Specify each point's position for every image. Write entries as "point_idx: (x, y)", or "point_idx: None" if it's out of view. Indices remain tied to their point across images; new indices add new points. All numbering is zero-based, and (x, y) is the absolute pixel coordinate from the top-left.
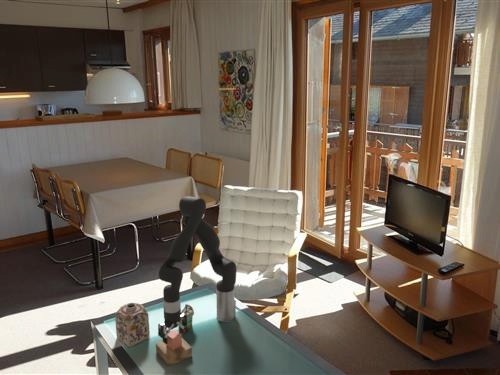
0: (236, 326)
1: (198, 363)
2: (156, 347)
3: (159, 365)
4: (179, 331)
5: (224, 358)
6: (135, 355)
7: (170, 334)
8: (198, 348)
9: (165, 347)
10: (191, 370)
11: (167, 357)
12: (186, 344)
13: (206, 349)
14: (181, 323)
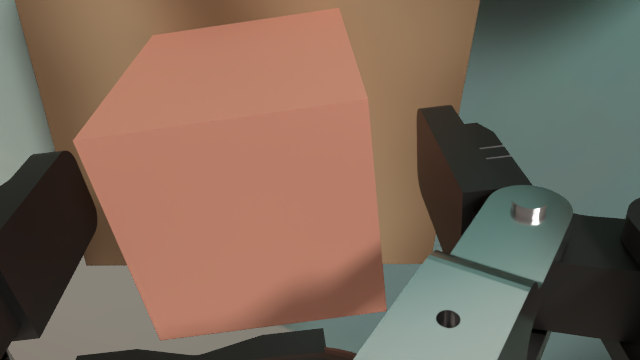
0: None
1: (388, 297)
2: None
3: (36, 134)
4: (435, 153)
5: (586, 347)
6: None
7: (176, 212)
8: (542, 130)
9: (121, 75)
10: (290, 330)
11: (87, 256)
12: (418, 185)
13: (584, 188)
14: None
